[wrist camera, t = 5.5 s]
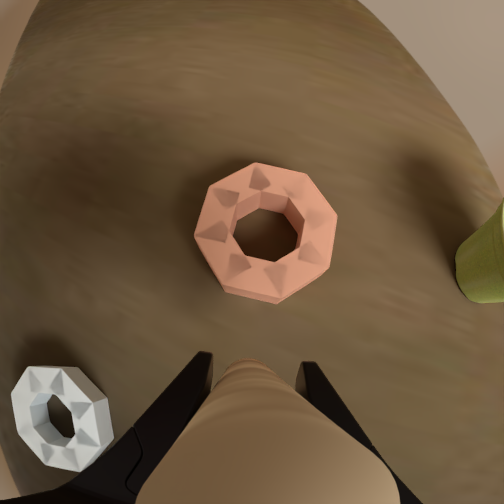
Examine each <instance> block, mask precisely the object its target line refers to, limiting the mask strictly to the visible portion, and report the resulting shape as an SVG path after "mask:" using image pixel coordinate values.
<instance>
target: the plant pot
mask: <svg viewBox="0 0 504 504" xmlns="http://www.w3.org/2000/svg"><path fill="white" fill-rule="evenodd" d="M455 263H456V279H457V282H458V284H459V287H460V288H461V290H462V292H463V293H464V294H465V296H466V297H467V298H468V299H470V300H471V301H473V302H477V303H493V302H504V198H503V201H502V203H501V204H500V206H499V207H498V209H497V211H496V213H495V214H494V215H493V216H492V217H491V218H490V219H489V220H488V221H487V222H486V223H484V224H483V225H482V226H481V227H480V228H479V229H478V230H477V231H476V232H475V233H473V234H472V235H471V236H470V237H469V238H468V239H466V240H465V241H464V242H463V243H462V244H461V245H460V246H459V248H458V250H457V252H456V256H455Z"/></svg>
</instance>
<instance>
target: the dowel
mask: <svg viewBox="0 0 504 504" xmlns="http://www.w3.org/2000/svg"><path fill="white" fill-rule="evenodd" d="M135 504H400V497H399V492H398V488H397V485H396V482H395V480H394V478H393V476H392V474H391V472H390V471H389V469H388V468H387V467H386V466H385V464H384V463H383V462H382V461H381V460H380V459H379V458H378V457H377V456H376V455H374V454H373V453H372V452H371V451H370V450H368V449H367V448H366V447H364V446H363V445H362V444H361V443H359V442H358V441H357V440H355V439H354V438H353V437H351V436H350V435H349V434H348V433H346V432H345V431H344V430H342V429H341V428H340V427H339V426H337V425H336V424H335V423H334V422H332V421H331V420H330V419H329V418H327V417H326V416H325V415H324V414H322V413H321V412H320V411H319V410H318V409H316V408H315V407H314V406H313V405H312V404H310V403H309V402H308V401H307V400H306V399H304V398H303V397H302V396H301V395H300V394H298V393H297V392H296V391H295V390H294V389H292V388H291V387H290V386H289V385H288V384H287V383H285V382H284V381H283V380H282V379H281V378H280V377H279V376H277V375H276V374H275V373H274V372H273V371H272V370H271V369H269V368H268V367H267V366H266V365H265V364H264V363H262V362H261V361H259V360H256V359H251V358H244V359H240V360H237V361H235V362H234V363H232V364H231V365H230V366H229V367H228V368H227V369H226V371H225V372H224V374H223V375H222V377H221V378H220V380H219V381H218V383H217V384H216V385H215V387H214V388H213V390H212V391H211V393H210V394H209V395H208V397H207V398H206V400H205V401H204V403H203V404H202V405H201V407H200V408H199V410H198V411H197V412H196V414H195V415H194V417H193V418H192V419H191V421H190V422H189V424H188V425H187V426H186V428H185V429H184V430H183V432H182V433H181V435H180V436H179V437H178V439H177V440H176V441H175V443H174V444H173V445H172V447H171V448H170V450H169V451H168V452H167V454H166V455H165V456H164V458H163V459H162V460H161V462H160V463H159V464H158V466H157V467H156V468H155V470H154V471H153V472H152V473H151V475H150V476H149V478H148V479H147V480H146V482H145V483H144V485H143V486H142V488H141V490H140V492H139V494H138V496H137V499H136V503H135Z"/></svg>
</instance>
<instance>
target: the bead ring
mask: <svg viewBox="0 0 504 504" xmlns="http://www.w3.org/2000/svg"><path fill="white" fill-rule="evenodd" d="M258 208H261V209H265V210H270V211H274V212H278V213H282V214H284V215H285V216H286V218H287V219H288V221H289V222H290V223H291V225H292V226H293V228H294V229H295V231H296V232H297V234H298V237H297V242H296V247H295V250H294V251H293V252H291V253H289V254H288V255H286V256H284V257H283V258H281V259H279V260H278V261H276V262H271V261H267V260H262V259H258V258H254V257H250V256H245V255H244V253H243V252H242V250H241V249H240V247H239V246H238V244H237V242H236V241H235V239H234V238H233V234H234V230H235V227H236V223H237V220H239V219H240V218H242V217H244V216H246V215H248V214H249V213H251V212H253V211H255V210H257V209H258ZM336 222H337V214H336V213H335V212H334V210H333V209H332V208H331V206H330V205H329V203H328V202H327V201H326V199H325V198H324V197H323V195H322V194H321V193H320V191H319V190H318V189H317V187H316V186H315V185H314V183H313V182H312V181H311V179H310V178H309V177H308V175H307V174H304V173H300V172H296V171H292V170H287V169H283V168H279V167H274V166H270V165H265V164H261V163H256V162H255V163H253V164H251V165H249V166H247V167H245V168H243V169H241V170H239V171H237V172H235V173H233V174H232V175H230V176H228V177H226V178H224V179H222V180H220V181H218V182H216V183H214V184H213V185H211V186H209V189H208V192H207V195H206V198H205V201H204V204H203V207H202V211H201V214H200V217H199V220H198V223H197V227H196V230H195V233H194V238H195V240H196V242H197V244H198V247H199V249H200V251H201V252H202V254H203V256H204V257H205V259H206V261H207V262H208V264H209V266H210V268H211V269H212V271H213V273H214V274H215V276H216V278H217V279H218V281H219V283H220V284H221V286H222V288H223V289H224V291H225V292H227V293H231V294H235V295H240V296H244V297H248V298H252V299H256V300H261V301H265V302H269V303H274V304H277V303H279V302H281V301H282V300H284V299H285V298H287V297H289V296H290V295H292V294H293V293H295V292H296V291H298V290H300V289H301V288H303V287H304V286H306V285H307V284H309V283H310V282H312V281H314V280H315V279H317V278H318V277H319V276H321V275H322V274H323V273H324V272H325V271H326V270H327V269H328V268H329V266H330V260H331V254H332V248H333V242H334V236H335V229H336Z"/></svg>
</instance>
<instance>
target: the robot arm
mask: <svg viewBox="0 0 504 504" xmlns="http://www.w3.org/2000/svg"><path fill="white" fill-rule="evenodd" d="M212 377H213V353H211V352H205V351H199V352H198V353H197V354H196V355H195V356H194V357H193V359H192V360H191V361H190V362H189V363H188V364H187V365H186V367H185V368H184V369H183V370H182V371H181V372H180V373H179V374H178V376H177V377H176V378H175V379H174V380H173V381H172V382H171V383H170V385H169V386H168V387H167V388H166V389H165V390H164V391H163V392H162V393H161V395H160V396H159V397H158V398H157V399H156V400H155V401H154V402H153V404H152V405H151V406H150V407H149V408H148V409H147V410H146V411H145V412H144V413H143V415H142V416H141V417H140V418H139V419H138V420H137V421H136V422H135V423H134V424H133V427H131V428H130V429H129V430H128V431H127V432H126V433H125V434H124V435H123V436H122V437H121V438H120V439H119V440H118V441H117V442H116V443H115V444H114V445H113V446H112V447H111V448H110V449H109V450H108V451H106V452H105V453H104V454H103V455H102V456H101V457H99V458H98V459H97V460H96V461H95V462H93V463H92V464H91V465H89V466H88V467H87V468H86V469H84V470H83V471H82V472H81V473H79V474H78V475H77V476H76V477H74V478H73V479H72V480H70V481H69V482H67V483H66V484H64V485H62V486H60V487H58V488H55V489H52V490H48V491H44V492H40V493H36V494H31V495H27V496H22V497H17V498H11V499H6V500H0V504H135V503H136V499H137V496H138V494H139V492H140V490H141V488H142V486H143V485H144V483H145V482H146V480H147V479H148V478H149V476H150V475H151V473H152V472H153V471H154V470H155V468H156V467H157V466H158V464H159V463H160V462H161V460H162V459H163V458H164V456H165V455H166V454H167V452H168V451H169V450H170V448H171V447H172V445H173V444H174V443H175V441H176V440H177V439H178V437H179V436H180V435H181V433H182V432H183V430H184V429H185V428H186V426H187V425H188V424H189V422H190V421H191V419H192V418H193V417H194V415H195V414H196V412H197V411H198V410H199V408H200V407H201V405H202V404H203V403H204V401H205V400H206V398H207V397H208V395H209V394H210V391H211V384H212ZM295 391H296V392H297V393H298V394H300V395H301V396H302V397H303V398H304V399H306V400H307V401H308V402H309V403H310V404H312V405H313V406H314V407H315V408H316V409H318V410H319V411H320V412H321V413H322V414H324V415H325V416H326V417H327V418H329V419H330V420H331V421H332V422H334V423H335V424H336V425H337V426H339V427H340V428H341V429H342V430H344V431H345V432H346V433H348V434H349V435H350V436H351V437H353V438H354V439H355V440H357V441H358V442H359V443H361V444H362V445H363V446H364V447H366V448H367V449H368V450H370V451H371V452H372V453H373V454H374V455H376V456H377V457H378V458H379V459H380V460H381V461H382V462H383V463H384V464H385V466H386V467H387V468H388V469H389V471H390V472H391V474H392V476H393V478H394V480H395V482H396V485H397V488H398V492H399V497H400V504H423V503H422V502H421V501H420V500H419V499H418V498H417V497H416V496H415V495H414V494H413V493H412V492H411V491H410V490H409V488H408V487H407V486H406V485H405V484H404V483H403V482H402V481H401V480H400V479H399V478H398V476H397V475H396V474H395V473H394V472H393V471H392V470H391V468H390V467H389V466H388V465H387V463H386V462H385V461H384V459H383V458H382V457H381V455H380V454H379V453H378V451H377V450H376V448H375V447H374V446H373V445H372V443H371V441H370V440H369V438H368V437H367V435H366V434H365V433H364V431H363V430H362V428H361V427H360V425H359V424H358V423H357V421H356V420H355V418H354V417H353V415H352V414H351V412H350V411H349V410H348V408H347V407H346V405H345V404H344V402H343V401H342V399H341V398H340V397H339V395H338V394H337V392H336V391H335V389H334V388H333V386H332V385H331V383H330V382H329V381H328V379H327V378H326V376H325V375H324V373H323V372H322V370H321V369H320V367H319V366H318V365H317V363H316V362H314V361H302V362H301V364H300V368H299V371H298V375H297V378H296V388H295Z"/></svg>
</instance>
